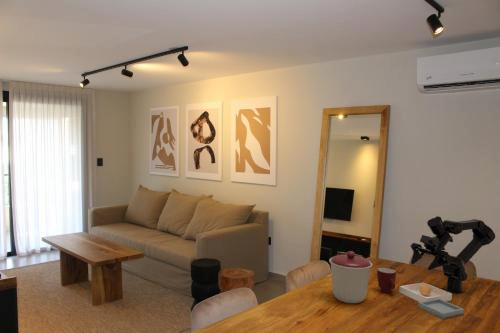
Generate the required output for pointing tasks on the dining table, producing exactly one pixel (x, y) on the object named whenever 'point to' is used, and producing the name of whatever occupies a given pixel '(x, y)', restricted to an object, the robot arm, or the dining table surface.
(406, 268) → the dining table surface
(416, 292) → the dish
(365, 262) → the canister
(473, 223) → the robot arm
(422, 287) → the ball
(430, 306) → the tray
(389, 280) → the mug
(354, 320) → the dining table surface
